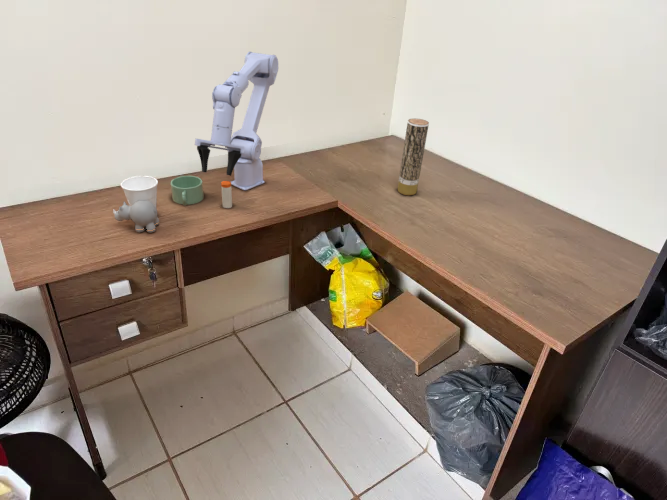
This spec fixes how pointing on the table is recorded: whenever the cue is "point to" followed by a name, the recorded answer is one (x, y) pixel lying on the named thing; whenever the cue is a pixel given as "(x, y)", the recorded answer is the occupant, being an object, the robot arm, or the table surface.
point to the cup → (140, 189)
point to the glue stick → (226, 194)
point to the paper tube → (412, 156)
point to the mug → (187, 190)
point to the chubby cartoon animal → (139, 215)
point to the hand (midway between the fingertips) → (216, 173)
